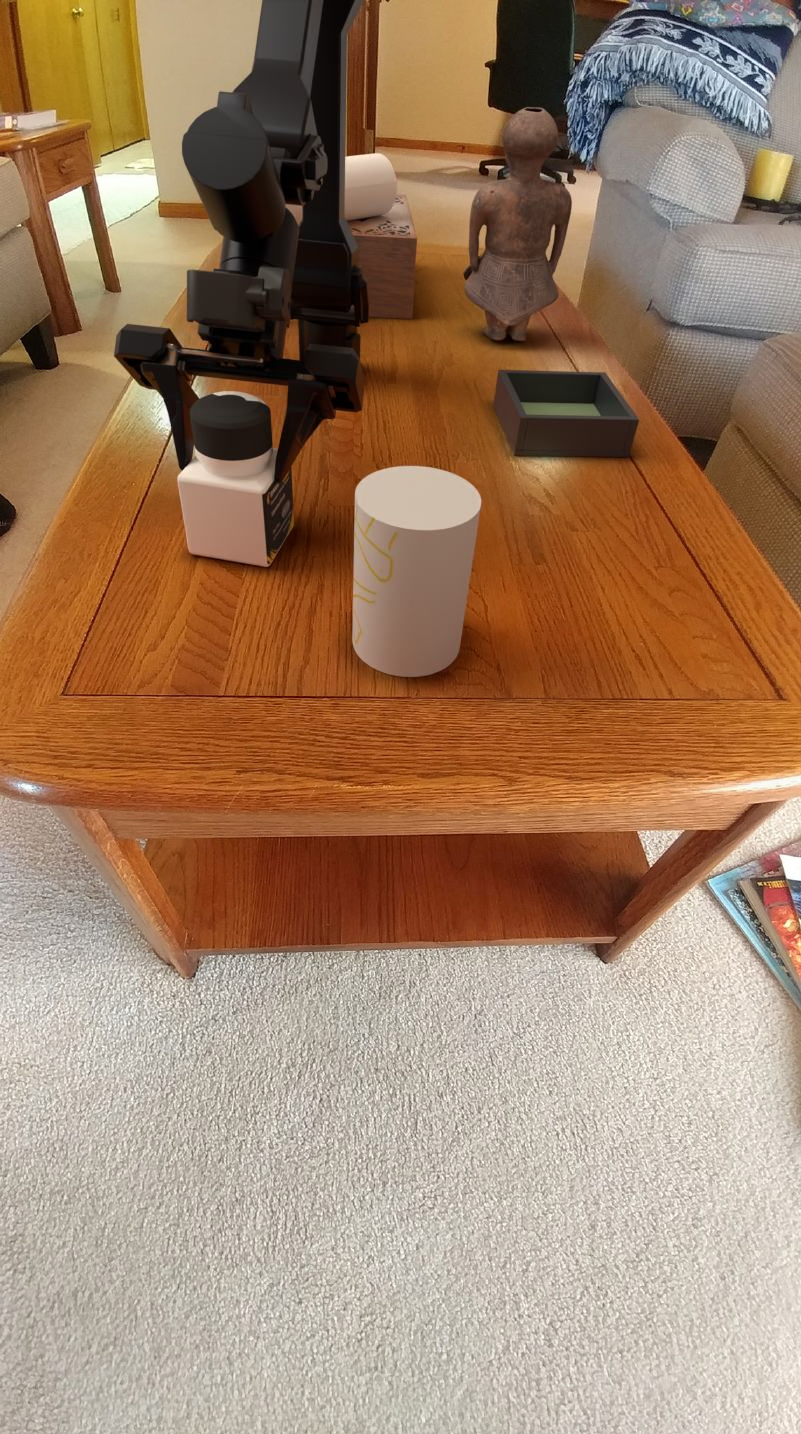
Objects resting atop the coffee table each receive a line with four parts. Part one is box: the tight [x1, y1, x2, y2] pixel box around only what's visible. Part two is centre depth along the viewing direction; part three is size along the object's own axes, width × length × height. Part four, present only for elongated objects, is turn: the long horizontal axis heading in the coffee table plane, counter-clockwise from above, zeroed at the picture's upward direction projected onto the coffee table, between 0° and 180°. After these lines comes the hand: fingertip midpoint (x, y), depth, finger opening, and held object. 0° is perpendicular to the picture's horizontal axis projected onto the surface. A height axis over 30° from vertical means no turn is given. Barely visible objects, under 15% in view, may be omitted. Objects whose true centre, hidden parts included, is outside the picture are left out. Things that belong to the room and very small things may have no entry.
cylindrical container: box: [286, 152, 398, 226], centre depth 99 cm, size 7×7×25 cm
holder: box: [492, 369, 640, 458], centre depth 83 cm, size 13×13×4 cm
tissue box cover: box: [347, 193, 418, 320], centre depth 113 cm, size 26×14×10 cm, turn 3°
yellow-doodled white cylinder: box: [351, 465, 482, 678], centre depth 53 cm, size 8×8×12 cm
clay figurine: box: [462, 106, 573, 342], centre depth 96 cm, size 13×10×25 cm
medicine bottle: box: [176, 390, 295, 568], centre depth 61 cm, size 7×7×12 cm
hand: (230, 476), depth 59 cm, fingers closed on medicine bottle, 7 cm apart
